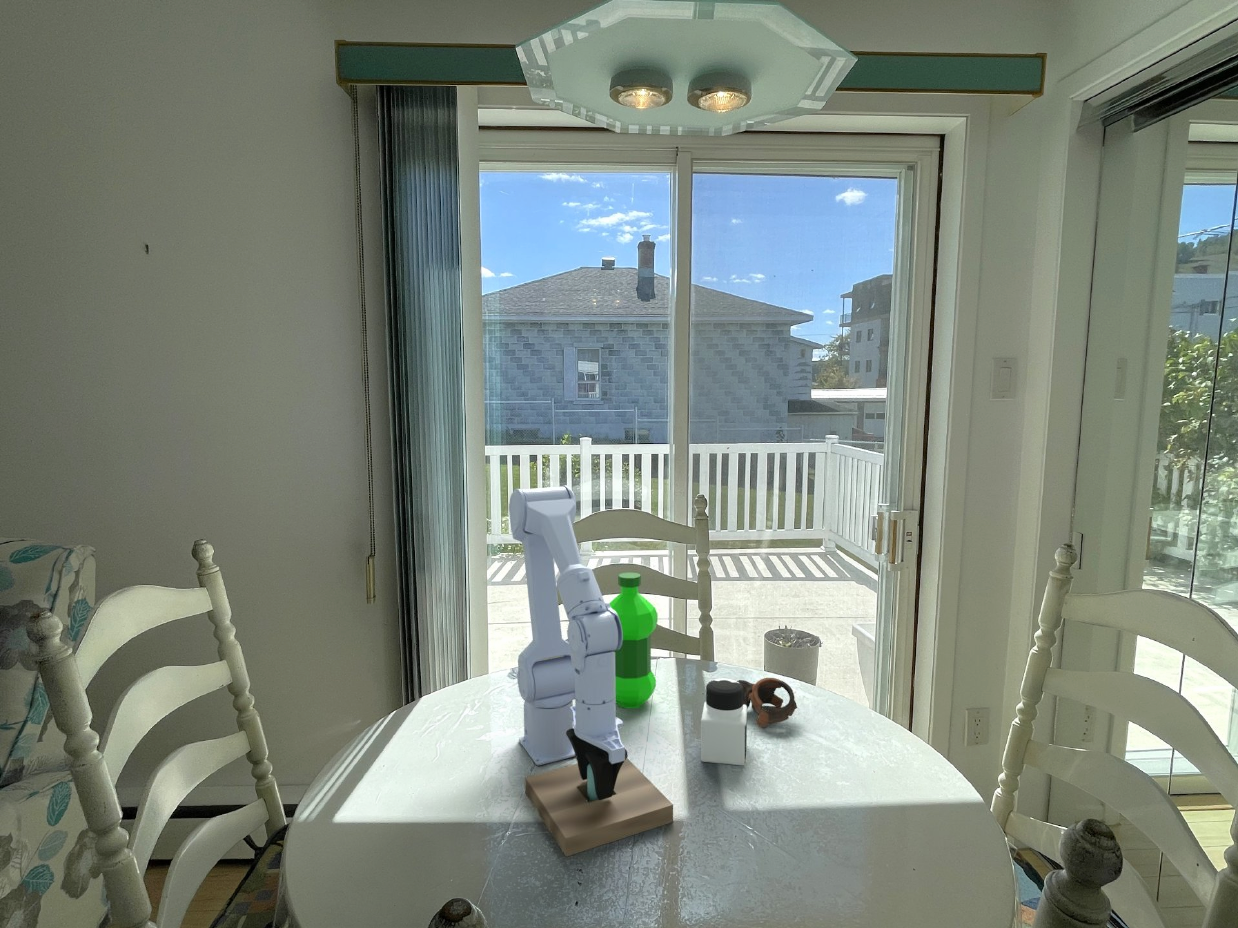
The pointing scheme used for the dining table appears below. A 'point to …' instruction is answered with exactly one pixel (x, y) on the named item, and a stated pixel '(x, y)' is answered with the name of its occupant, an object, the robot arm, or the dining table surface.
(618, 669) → the plastic bottle
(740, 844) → the dining table surface
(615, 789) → the socket board
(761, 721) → the brown jagged ring
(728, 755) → the medicine bottle
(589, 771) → the peg
